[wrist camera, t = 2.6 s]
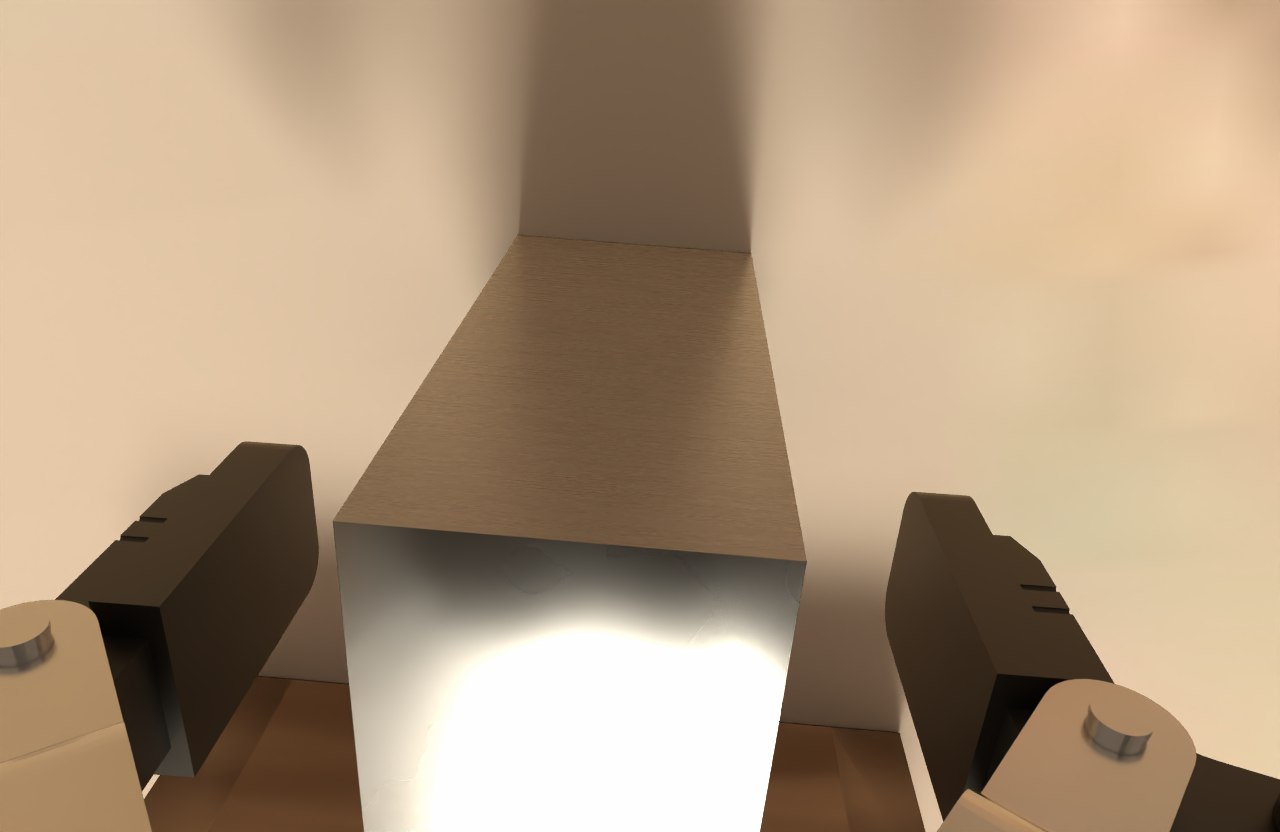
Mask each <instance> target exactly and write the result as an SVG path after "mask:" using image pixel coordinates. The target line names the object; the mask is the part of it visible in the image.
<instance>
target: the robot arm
mask: <svg viewBox="0 0 1280 832" xmlns="http://www.w3.org/2000/svg"><path fill="white" fill-rule="evenodd" d="M318 554H319V546H318V536H317V526H316V517H315V508H314V499H313V490H312V481H311V472H310V464H309V458H308V455H307V452H306V451H305V449H304V448H303V447H302V446H300V445H287V444H274V443H260V442H242V443H240V444H239V445H238V446H237V447H236V448H235V449H234V450H233V451H232V452H231V453H230V454H229V455H228V456H227V457H226V458H225V459H224V460H223V462H222V463H221V464H220V465H219V466H218V467H217V468H216V469H215V470H214V471H213V472H212V473H211V474H210V475H197V476H195V477H194V478H192V479H190V480H188V481H186V482H184V483H182V484H180V485H178V486H176V487H174V488H173V489H171V490H169V491H167V492H165V493H163V494H162V495H161V496H160V497H159V498H158V499H157V500H156V501H155V502H154V503H153V504H152V505H151V506H150V507H149V508H148V509H147V510H146V511H145V512H144V513H143V514H142V515H141V516H140V520H139V521H135V522H134V523H133V524H132V525H131V526H130V527H129V528H128V529H127V530H125V531H124V532H123V533H122V534H121V538H120V541H118V540H115V541H114V542H113V543H112V544H111V545H110V546H109V547H108V548H107V549H106V550H105V551H104V552H103V553H102V554H101V555H100V556H99V557H98V558H97V559H96V560H95V561H94V562H93V563H92V564H91V565H90V566H89V567H88V568H87V569H86V570H85V571H84V572H83V573H82V574H81V575H80V576H79V577H78V578H77V579H76V580H75V581H74V582H73V583H72V584H71V585H70V586H69V587H68V588H67V589H66V590H65V591H63V592H62V593H61V594H60V595H59V596H58V597H57V598H56V599H55V600H41V601H34V602H27V603H22V604H18V605H14V606H10V607H7V608H4V609H1V610H0V832H152V830H151V826H150V822H149V818H148V814H147V810H146V806H145V802H144V798H143V794H142V791H143V789H144V788H145V786H146V785H147V783H148V782H149V780H150V779H151V777H152V776H153V774H156V775H169V776H181V777H194V778H195V776H196V774H197V773H198V771H199V770H200V768H201V766H202V765H203V763H204V761H205V760H206V758H207V757H208V755H209V753H210V752H211V750H212V749H213V747H214V745H215V744H216V742H217V740H218V739H219V737H220V736H221V734H222V732H223V731H224V729H225V727H226V726H227V724H228V723H229V721H230V719H231V718H232V716H233V714H234V713H235V711H236V710H237V708H238V706H239V705H240V703H241V701H242V700H243V698H244V697H245V695H246V693H247V692H248V690H249V689H250V687H251V685H252V684H253V682H254V680H255V679H256V677H257V676H258V674H259V672H260V671H261V669H262V667H263V666H264V664H265V663H266V661H267V659H268V658H269V656H270V654H271V653H272V651H273V650H274V648H275V646H276V645H277V643H278V641H279V640H280V638H281V637H282V635H283V633H284V632H285V630H286V629H287V627H288V625H289V624H290V622H291V620H292V619H293V617H294V616H295V614H296V612H297V611H298V609H299V607H300V606H301V604H302V603H303V601H304V599H305V598H306V596H307V594H308V593H309V591H310V589H311V587H312V584H313V581H314V578H315V575H316V570H317V564H318ZM885 621H886V631H887V636H888V640H889V643H890V646H891V650H892V653H893V656H894V660H895V663H896V666H897V669H898V673H899V676H900V679H901V683H902V686H903V689H904V693H905V696H906V699H907V703H908V706H909V709H910V713H911V716H912V719H913V722H914V726H915V729H916V732H917V736H918V739H919V742H920V746H921V749H922V752H923V756H924V759H925V762H926V766H927V769H928V772H929V776H930V779H931V782H932V785H933V789H934V792H935V795H936V799H937V802H938V805H939V809H940V812H941V815H942V819H943V823H942V825H941V826H940V828H939V829H938V831H937V832H1280V779H1276V778H1273V777H1269V776H1266V775H1263V774H1259V773H1256V772H1253V771H1249V770H1246V769H1243V768H1239V767H1236V766H1233V765H1229V764H1226V763H1223V762H1219V761H1216V760H1213V759H1210V758H1207V757H1205V756H1202V755H1199V754H1197V753H1196V749H1195V746H1194V743H1193V741H1192V739H1191V737H1190V735H1189V734H1188V732H1187V730H1186V729H1185V728H1184V727H1183V726H1182V725H1181V723H1180V722H1179V721H1178V720H1177V719H1176V718H1175V717H1174V716H1173V715H1171V714H1170V713H1169V712H1168V711H1167V710H1165V709H1164V708H1163V707H1161V706H1160V705H1159V704H1157V703H1155V702H1154V701H1152V700H1150V699H1149V698H1147V697H1145V696H1143V695H1141V694H1139V693H1137V692H1135V691H1133V690H1130V689H1128V688H1125V687H1123V686H1119V685H1116V684H1114V682H1113V680H1112V679H1111V677H1110V675H1109V674H1108V672H1107V670H1106V669H1105V667H1104V665H1103V664H1102V662H1101V660H1100V659H1099V657H1098V655H1097V654H1096V652H1095V650H1094V649H1093V647H1092V645H1091V644H1090V642H1089V641H1088V639H1087V637H1086V636H1085V634H1084V632H1083V631H1082V629H1081V627H1080V626H1079V624H1078V622H1077V621H1076V619H1075V617H1074V616H1073V615H1071V614H1069V607H1068V606H1067V604H1066V602H1065V601H1064V599H1063V597H1062V596H1061V594H1060V592H1056V586H1055V584H1054V582H1053V581H1052V579H1051V577H1050V576H1049V574H1048V572H1047V571H1046V569H1045V568H1044V566H1043V564H1042V563H1041V561H1040V560H1039V559H1038V558H1037V557H1035V556H1034V555H1033V554H1032V553H1030V552H1029V551H1028V550H1027V549H1025V548H1024V547H1023V546H1022V545H1020V544H1019V543H1018V542H1017V541H1015V540H1014V539H1013V538H1012V537H1011V536H1000V535H992V533H991V531H990V529H989V527H988V525H987V524H986V522H985V520H984V518H983V516H982V514H981V513H980V511H979V509H978V507H977V505H976V503H975V502H974V500H973V499H972V498H971V497H970V496H963V495H949V494H936V493H922V492H912V493H911V494H910V495H909V496H908V498H907V500H906V503H905V507H904V511H903V515H902V520H901V525H900V530H899V534H898V539H897V544H896V548H895V553H894V558H893V563H892V567H891V572H890V577H889V582H888V587H887V592H886V602H885Z"/></svg>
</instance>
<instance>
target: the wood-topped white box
mask: <svg viewBox="0 0 1280 832" xmlns="http://www.w3.org/2000/svg"><path fill="white" fill-rule="evenodd" d="M333 528H334V538H335V548H336V558H337V568H338V578H339V588H340V597H341V607H342V617H343V627H344V637H345V647H346V657H347V667H348V677H349V687H350V697H351V707H352V717H353V726H354V736H355V746H356V756H357V766H358V776H359V786H360V796H361V806H362V816H363V826H364V832H759V831H760V825H761V820H762V814H763V808H764V803H765V797H766V791H767V786H768V780H769V774H770V768H771V763H772V757H773V751H774V746H775V740H776V734H777V728H778V723H779V717H780V711H781V706H782V700H783V694H784V688H785V683H786V677H787V671H788V666H789V660H790V654H791V648H792V643H793V637H794V631H795V626H796V620H797V614H798V608H799V603H800V597H801V591H802V586H803V580H804V574H805V568H806V563H807V560H806V555H805V549H804V544H803V538H802V532H801V527H800V521H799V516H798V510H797V505H796V499H795V494H794V488H793V483H792V477H791V472H790V466H789V461H788V455H787V449H786V444H785V438H784V433H783V427H782V422H781V416H780V411H779V405H778V400H777V394H776V389H775V383H774V378H773V372H772V367H771V361H770V355H769V350H768V344H767V339H766V333H765V328H764V322H763V317H762V311H761V306H760V300H759V295H758V289H757V284H756V278H755V273H754V267H753V261H752V256H751V253H739V252H727V251H714V250H701V249H688V248H675V247H662V246H650V245H637V244H624V243H611V242H598V241H586V240H573V239H560V238H547V237H534V236H521V235H518V236H517V238H516V239H515V241H514V242H513V244H512V245H511V247H510V249H509V250H508V252H507V253H506V255H505V256H504V258H503V259H502V261H501V262H500V264H499V266H498V267H497V269H496V270H495V272H494V273H493V275H492V276H491V278H490V279H489V281H488V283H487V284H486V286H485V287H484V289H483V290H482V292H481V293H480V295H479V296H478V298H477V299H476V301H475V303H474V304H473V306H472V307H471V309H470V310H469V312H468V313H467V315H466V316H465V318H464V320H463V321H462V323H461V324H460V326H459V327H458V329H457V330H456V332H455V333H454V335H453V336H452V338H451V340H450V341H449V343H448V344H447V346H446V347H445V349H444V350H443V352H442V353H441V355H440V357H439V358H438V360H437V361H436V363H435V364H434V366H433V367H432V369H431V370H430V372H429V373H428V375H427V377H426V378H425V380H424V381H423V383H422V384H421V386H420V387H419V389H418V390H417V392H416V394H415V395H414V397H413V398H412V400H411V401H410V403H409V404H408V406H407V407H406V409H405V410H404V412H403V414H402V415H401V417H400V418H399V420H398V421H397V423H396V424H395V426H394V427H393V429H392V431H391V432H390V434H389V435H388V437H387V438H386V440H385V441H384V443H383V444H382V446H381V448H380V449H379V451H378V452H377V454H376V455H375V457H374V458H373V460H372V461H371V463H370V464H369V466H368V468H367V469H366V471H365V472H364V474H363V475H362V477H361V478H360V480H359V481H358V483H357V485H356V486H355V488H354V489H353V491H352V492H351V494H350V495H349V497H348V498H347V500H346V501H345V503H344V505H343V506H342V508H341V509H340V511H339V512H338V514H337V515H336V517H335V518H334V520H333Z"/></svg>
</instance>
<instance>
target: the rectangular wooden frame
mask: <svg viewBox="0 0 1280 832" xmlns="http://www.w3.org/2000/svg"><path fill="white" fill-rule="evenodd" d="M144 802H145V806H146V810H147V814H148V818H149V822H150V826H151V830H152V832H364V826H363V816H362V806H361V796H360V786H359V776H358V766H357V756H356V746H355V736H354V726H353V717H352V707H351V697H350V687H349V685H347V684H336V683H325V682H313V681H302V680H291V679H279V678H268V677H256V679H255V680H254V682H253V684H252V685H251V687H250V689H249V690H248V692H247V693H246V695H245V697H244V698H243V700H242V701H241V703H240V705H239V706H238V708H237V710H236V711H235V713H234V714H233V716H232V718H231V719H230V721H229V723H228V724H227V726H226V727H225V729H224V731H223V732H222V734H221V736H220V737H219V739H218V740H217V742H216V744H215V745H214V747H213V749H212V750H211V752H210V753H209V755H208V757H207V758H206V760H205V761H204V763H203V765H202V766H201V768H200V770H199V771H198V773H197V774H196V776H195V778H194V777H181V776H169V775H160V776H159V777H158V779H157V781H156V782H155V784H154V785H153V787H152V788H151V790H150V791H149V793H148V794H147V796H146V797H145V799H144ZM759 832H925V829H924V825H923V821H922V817H921V813H920V809H919V806H918V802H917V798H916V794H915V790H914V786H913V783H912V779H911V775H910V771H909V767H908V764H907V760H906V756H905V752H904V748H903V744H902V741H901V737H900V733H891V732H880V731H868V730H857V729H846V728H834V727H823V726H812V725H800V724H789V723H778V728H777V734H776V740H775V746H774V751H773V757H772V763H771V768H770V774H769V780H768V786H767V791H766V797H765V803H764V808H763V814H762V820H761V825H760V831H759Z"/></svg>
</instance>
